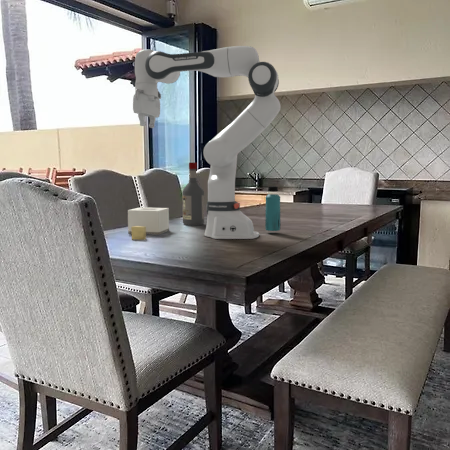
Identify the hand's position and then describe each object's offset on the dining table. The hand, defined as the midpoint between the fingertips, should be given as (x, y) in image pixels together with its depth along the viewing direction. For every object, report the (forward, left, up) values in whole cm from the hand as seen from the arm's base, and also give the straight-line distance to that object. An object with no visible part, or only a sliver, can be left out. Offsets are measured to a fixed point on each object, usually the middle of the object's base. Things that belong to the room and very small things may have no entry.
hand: (147, 126), depth 183 cm
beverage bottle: (-51, -12, -45) cm, 69 cm away
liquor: (-9, -32, -45) cm, 56 cm away
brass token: (-1, +13, -44) cm, 46 cm away
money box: (+2, -5, -44) cm, 45 cm away
